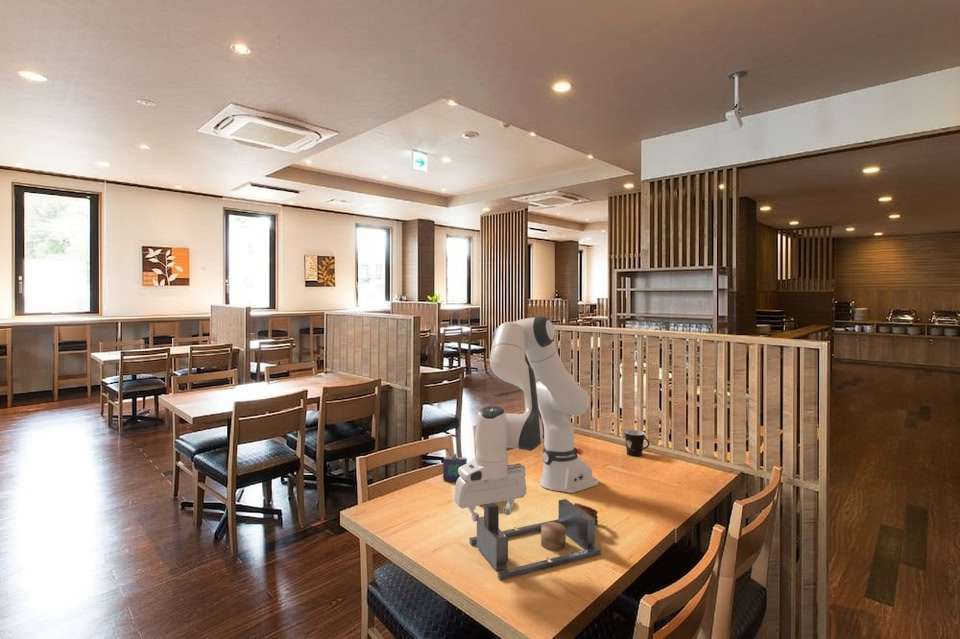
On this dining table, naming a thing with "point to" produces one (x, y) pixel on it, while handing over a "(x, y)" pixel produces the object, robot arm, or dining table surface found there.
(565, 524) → the press frame
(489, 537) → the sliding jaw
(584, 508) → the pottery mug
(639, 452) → the coffee mug
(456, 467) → the flask
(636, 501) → the dining table surface
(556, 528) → the brown short cylinder
